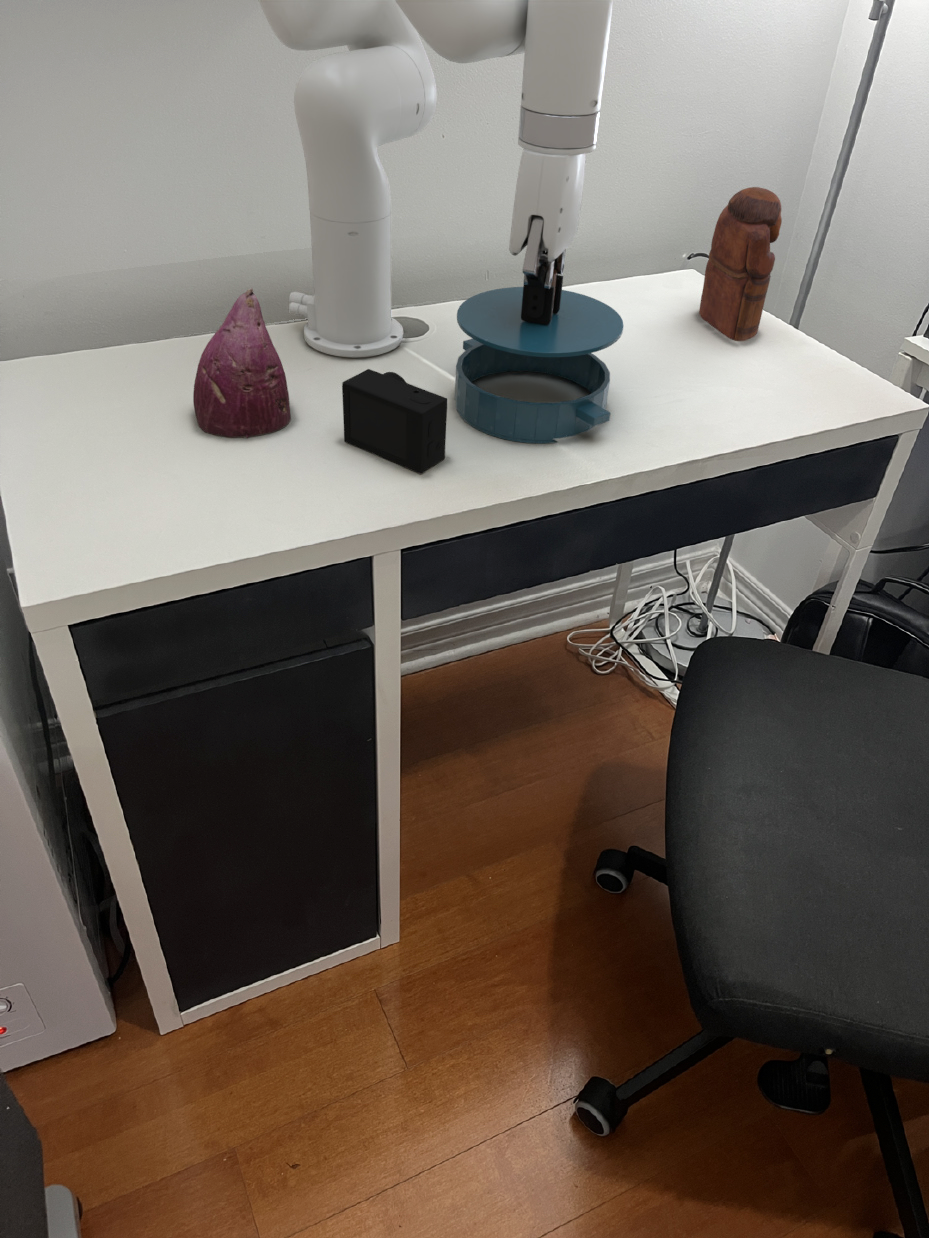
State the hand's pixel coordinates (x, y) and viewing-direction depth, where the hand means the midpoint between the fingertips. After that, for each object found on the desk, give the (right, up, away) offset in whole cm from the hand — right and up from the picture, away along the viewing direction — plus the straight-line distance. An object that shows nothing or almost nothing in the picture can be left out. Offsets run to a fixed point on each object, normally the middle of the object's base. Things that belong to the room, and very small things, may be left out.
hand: (540, 315), depth 102 cm
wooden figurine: (+28, +7, +28) cm, 40 cm away
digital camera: (-15, -15, -2) cm, 21 cm away
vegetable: (-32, -11, +2) cm, 34 cm away
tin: (-1, -8, +7) cm, 11 cm away
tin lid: (0, -1, 0) cm, 1 cm away
